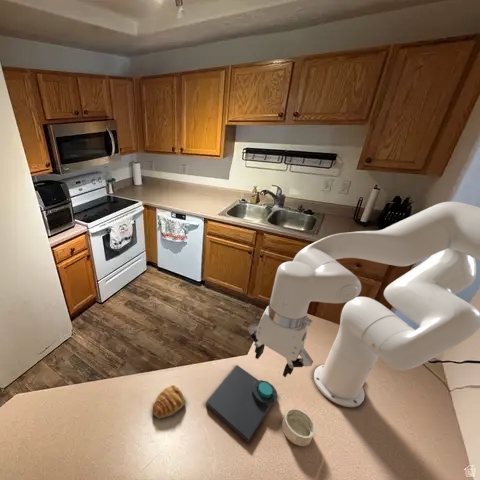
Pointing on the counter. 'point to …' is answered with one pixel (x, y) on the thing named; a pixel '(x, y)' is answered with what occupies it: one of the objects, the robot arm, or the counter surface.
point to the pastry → (168, 402)
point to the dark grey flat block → (241, 402)
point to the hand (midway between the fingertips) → (272, 363)
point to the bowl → (298, 427)
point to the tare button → (265, 390)
